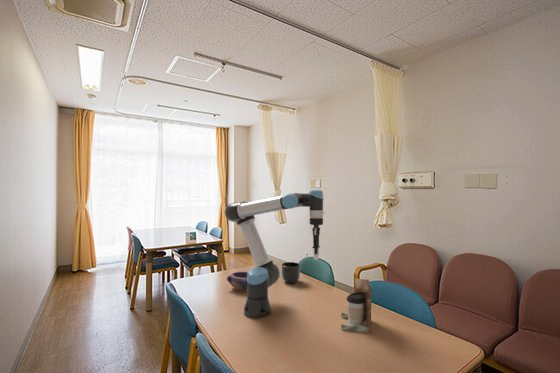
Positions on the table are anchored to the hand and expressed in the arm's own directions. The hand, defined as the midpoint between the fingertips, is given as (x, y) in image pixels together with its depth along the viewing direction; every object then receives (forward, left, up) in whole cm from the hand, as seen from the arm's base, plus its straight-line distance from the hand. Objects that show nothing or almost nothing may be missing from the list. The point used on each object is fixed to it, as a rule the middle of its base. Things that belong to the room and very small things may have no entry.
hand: (316, 259), depth 157 cm
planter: (-23, +45, -30) cm, 59 cm away
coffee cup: (+21, -10, -30) cm, 38 cm away
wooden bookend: (+20, -10, -29) cm, 37 cm away
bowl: (-53, +25, -30) cm, 66 cm away
